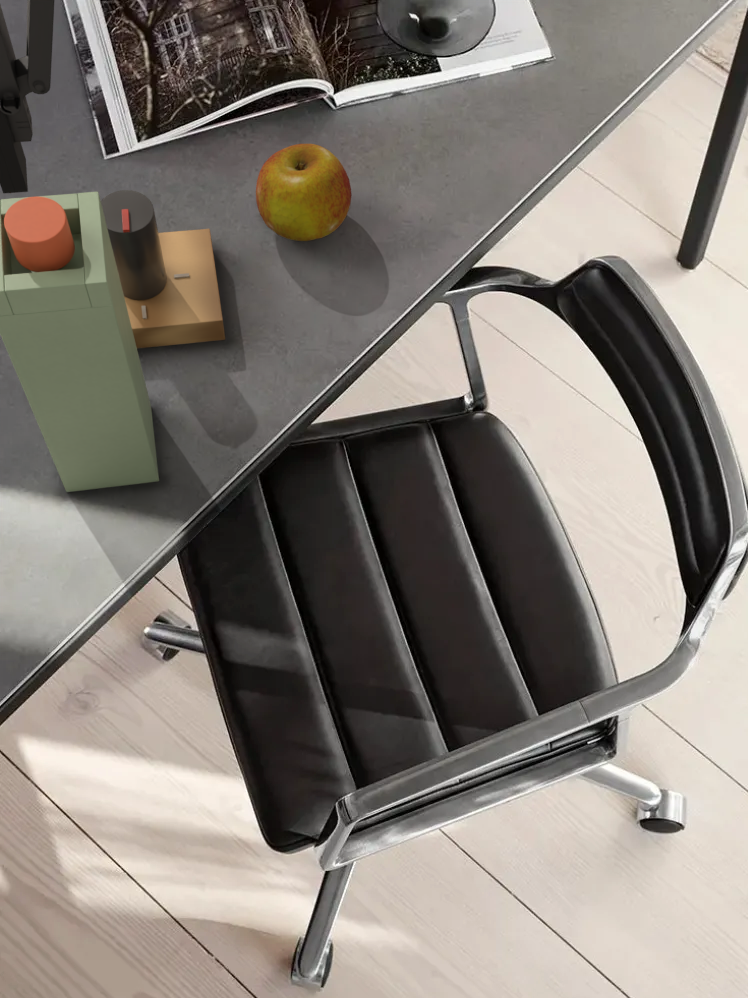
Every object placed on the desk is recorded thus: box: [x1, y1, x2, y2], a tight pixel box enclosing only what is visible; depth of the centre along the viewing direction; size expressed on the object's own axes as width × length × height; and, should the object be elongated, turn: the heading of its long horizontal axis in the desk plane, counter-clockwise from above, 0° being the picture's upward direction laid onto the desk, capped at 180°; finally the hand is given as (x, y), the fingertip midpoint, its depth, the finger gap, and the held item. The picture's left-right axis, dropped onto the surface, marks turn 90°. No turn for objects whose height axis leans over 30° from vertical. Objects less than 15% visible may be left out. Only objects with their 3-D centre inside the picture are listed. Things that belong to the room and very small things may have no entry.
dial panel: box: [124, 228, 226, 349], centre depth 106 cm, size 14×11×3 cm
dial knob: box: [100, 189, 167, 300], centre depth 101 cm, size 5×5×9 cm
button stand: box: [0, 191, 160, 493], centre depth 89 cm, size 8×8×27 cm
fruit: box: [255, 143, 352, 242], centre depth 110 cm, size 10×9×8 cm
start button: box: [4, 196, 75, 272], centre depth 76 cm, size 4×4×3 cm
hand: (14, 176), depth 71 cm, fingers closed
